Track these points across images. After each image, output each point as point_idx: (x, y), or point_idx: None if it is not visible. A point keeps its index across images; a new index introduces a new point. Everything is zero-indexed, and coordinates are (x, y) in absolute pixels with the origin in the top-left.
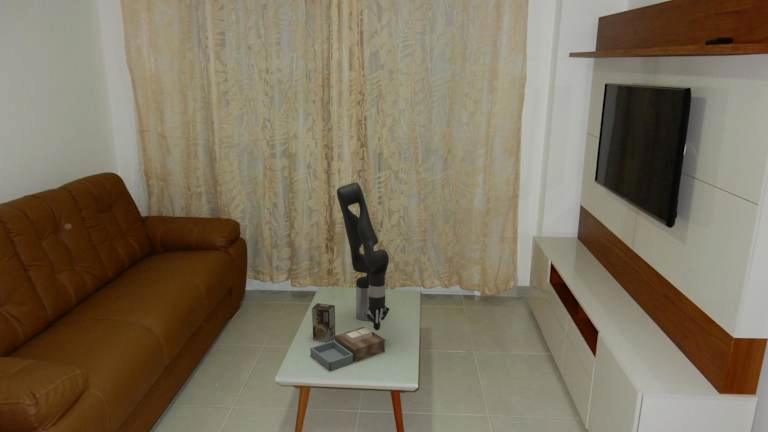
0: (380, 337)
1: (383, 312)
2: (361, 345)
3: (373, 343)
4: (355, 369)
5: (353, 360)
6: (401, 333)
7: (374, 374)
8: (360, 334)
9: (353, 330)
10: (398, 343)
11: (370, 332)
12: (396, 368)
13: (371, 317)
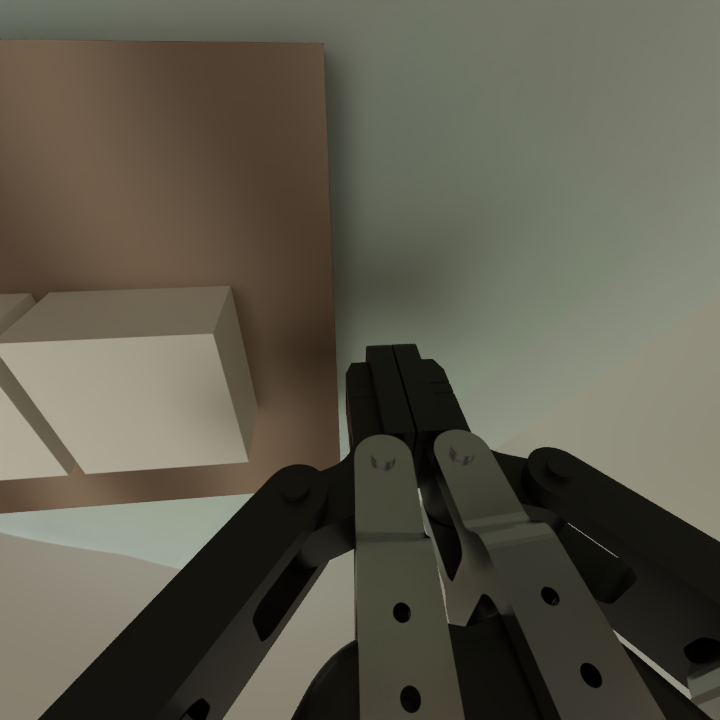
0: (330, 450)
1: (661, 619)
2: (68, 488)
3: (207, 495)
4: None
5: None
6: (697, 221)
7: (146, 531)
8: (49, 464)
9: (20, 64)
10: (507, 352)
11: (223, 459)
12: None
13: (233, 690)
